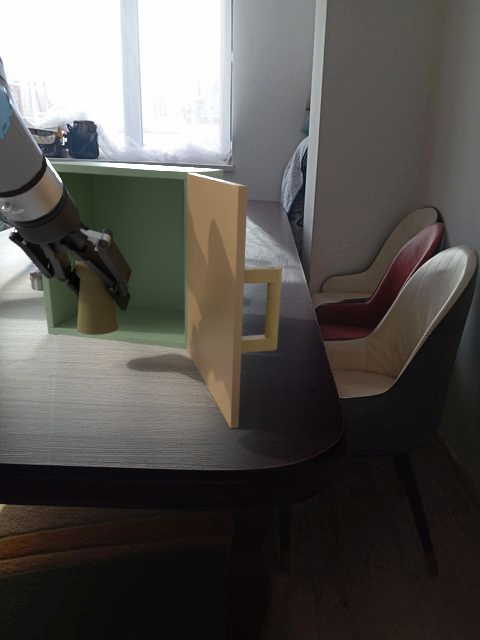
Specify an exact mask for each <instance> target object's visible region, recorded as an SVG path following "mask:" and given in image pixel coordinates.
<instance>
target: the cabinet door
mask: <svg viewBox="0 0 480 640" xmlns="http://www.w3.org/2000/svg"><path fill="white" fill-rule="evenodd" d="M248 187H249V186H248V185H244V184H240V183H237V182H233V181H228V180H224V179H223V180H220V179H216V178H212V177H207V176H203V175H199V174H195V173H187V349H186V350H187V354H188V355H189V357H190V359H191V361H192V362H193V364H194V366H195V368H196V370H197V371H198V373H199V375H200V377H201V378H202V380H203V382H204V384H205V386H206V387H207V389H208V391H209V392H210V395H211V396H212V398H213V399H214V401H215V403H216V405H217V407H218V408H219V410H220V412H221V414H222V416H223V417H224V419H225V421H226V424H228V427H229V428H230V429H238V428H239V427H240V426H239V425H240V424H239V423H240V400H241V399H240V397H241V372H242V354H246V353H260V352H272V351H273V352H274V351H276V350H277V349H278V342H279V341H278V339H279V325H280V311H281V310H280V308H281V294H282V293H281V292H282V280H283V279H282V277H283V268H282V267H280V266H277V265H275V266H272V265H271V266H246V264H245V263H246V242H247V241H246V238H247V215H248V214H247V213H248V190H249V189H248ZM246 284H247V285H249V284H251V285H252V284H267V285H266V302H265V303H266V304H265V320H264V321H265V322H264V334H254V335H243V321H244V295H245V294H244V293H245V285H246Z"/></svg>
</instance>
